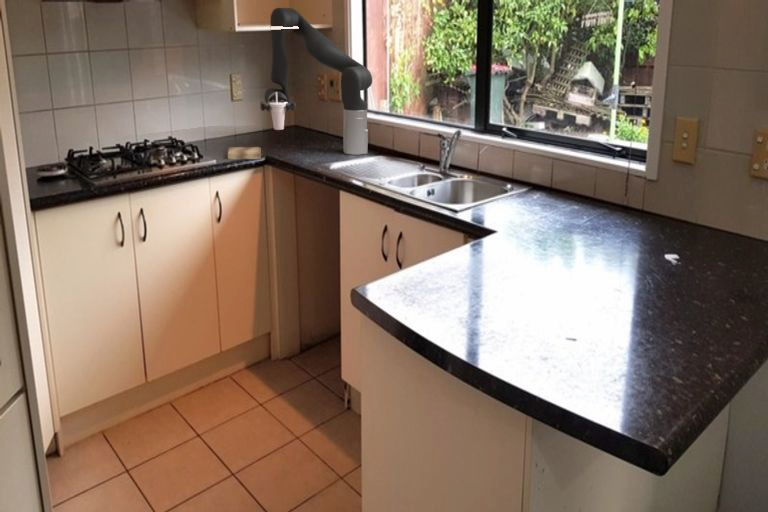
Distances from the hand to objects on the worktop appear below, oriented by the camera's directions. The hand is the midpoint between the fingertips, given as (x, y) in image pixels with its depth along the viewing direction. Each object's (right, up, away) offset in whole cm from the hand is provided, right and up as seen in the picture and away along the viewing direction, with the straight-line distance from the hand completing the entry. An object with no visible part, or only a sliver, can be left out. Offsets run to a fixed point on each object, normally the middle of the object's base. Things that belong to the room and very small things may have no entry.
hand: (278, 108), depth 268 cm
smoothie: (0, -7, +5) cm, 9 cm away
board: (-13, -17, +5) cm, 22 cm away
